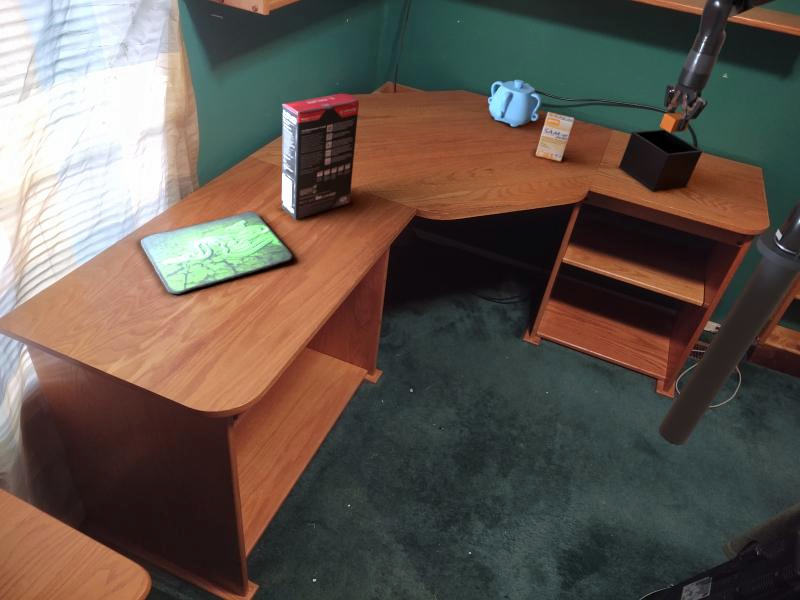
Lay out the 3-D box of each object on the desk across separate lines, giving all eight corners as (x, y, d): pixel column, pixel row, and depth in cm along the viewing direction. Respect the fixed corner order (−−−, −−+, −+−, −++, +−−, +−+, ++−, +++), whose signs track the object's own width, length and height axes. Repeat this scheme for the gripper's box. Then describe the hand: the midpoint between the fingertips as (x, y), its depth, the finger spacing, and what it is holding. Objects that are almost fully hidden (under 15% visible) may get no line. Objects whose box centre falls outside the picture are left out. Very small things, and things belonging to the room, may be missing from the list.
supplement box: (534, 156, 187) (546, 116, 179) (536, 150, 191) (547, 110, 182) (561, 162, 186) (573, 122, 177) (562, 156, 189) (574, 116, 181)
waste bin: (686, 186, 182) (702, 151, 175) (652, 191, 177) (668, 155, 170) (651, 163, 193) (665, 128, 185) (618, 167, 188) (632, 132, 180)
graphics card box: (336, 192, 156) (342, 89, 139) (353, 204, 152) (360, 99, 135) (280, 209, 146) (279, 101, 129) (296, 222, 143) (297, 113, 125)
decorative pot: (490, 126, 201) (499, 87, 193) (484, 108, 214) (492, 70, 205) (537, 131, 203) (547, 92, 194) (528, 113, 215) (538, 75, 206)
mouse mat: (170, 297, 117) (170, 293, 116) (137, 240, 130) (136, 236, 129) (296, 261, 131) (296, 257, 130) (254, 213, 144) (254, 209, 143)
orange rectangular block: (685, 131, 175) (690, 118, 172) (670, 132, 172) (675, 119, 170) (674, 125, 178) (680, 112, 175) (659, 126, 175) (664, 113, 173)
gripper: (727, 77, 160) (700, 136, 171) (688, 59, 170) (665, 116, 181) (707, 78, 158) (680, 138, 168) (669, 59, 167) (646, 118, 178)
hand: (673, 126), depth 175 cm, fingers closed on orange rectangular block, 4 cm apart
